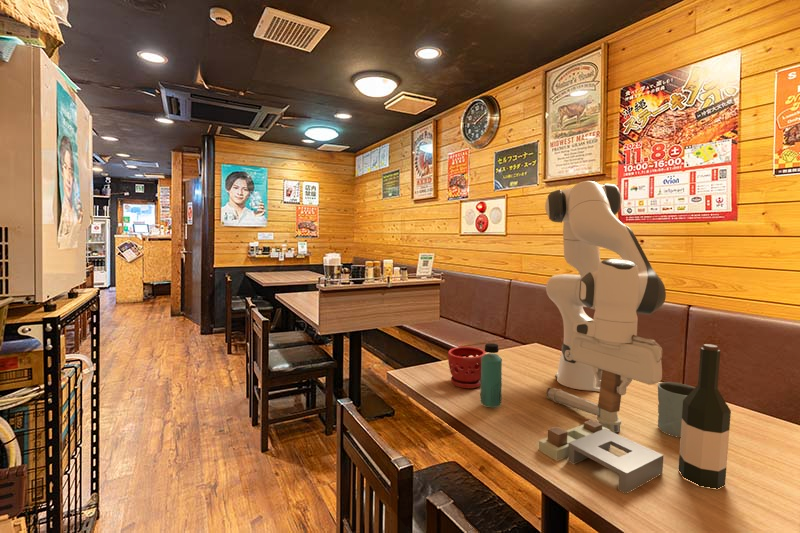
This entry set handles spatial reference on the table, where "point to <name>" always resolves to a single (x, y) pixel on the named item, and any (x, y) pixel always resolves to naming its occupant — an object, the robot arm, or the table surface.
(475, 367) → the plant pot
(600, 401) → the pin long
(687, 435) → the wine bottle
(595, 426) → the pin short
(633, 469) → the hole bridge
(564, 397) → the beige long piece
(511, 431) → the table surface
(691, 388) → the grey cup
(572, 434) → the peg rack
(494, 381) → the beverage bottle
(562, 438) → the pin medium
